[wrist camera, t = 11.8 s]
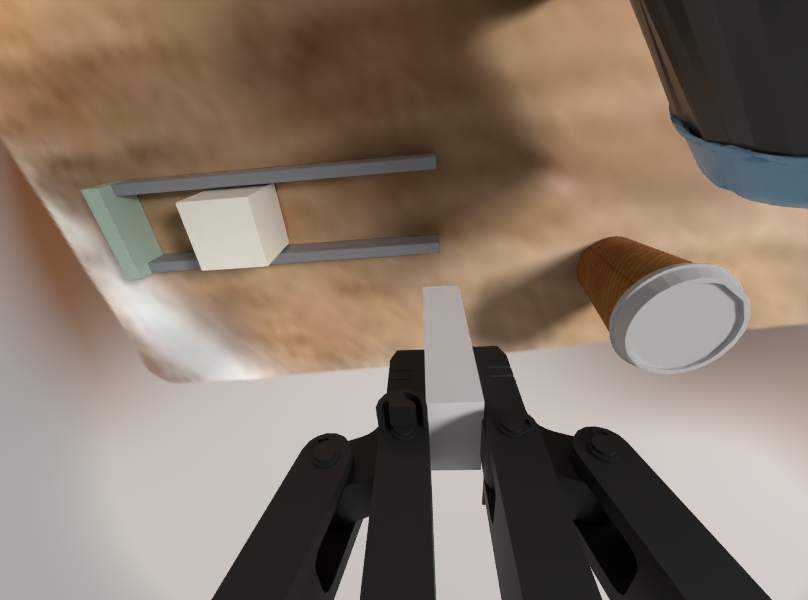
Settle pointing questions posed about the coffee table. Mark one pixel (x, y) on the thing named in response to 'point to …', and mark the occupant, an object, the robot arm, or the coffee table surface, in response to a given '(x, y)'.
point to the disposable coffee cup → (663, 305)
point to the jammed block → (234, 226)
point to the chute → (132, 229)
